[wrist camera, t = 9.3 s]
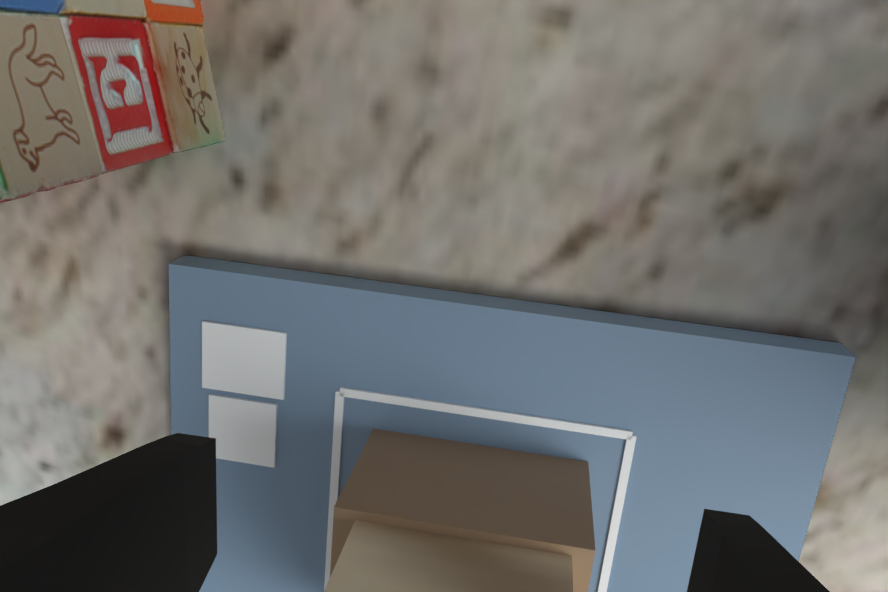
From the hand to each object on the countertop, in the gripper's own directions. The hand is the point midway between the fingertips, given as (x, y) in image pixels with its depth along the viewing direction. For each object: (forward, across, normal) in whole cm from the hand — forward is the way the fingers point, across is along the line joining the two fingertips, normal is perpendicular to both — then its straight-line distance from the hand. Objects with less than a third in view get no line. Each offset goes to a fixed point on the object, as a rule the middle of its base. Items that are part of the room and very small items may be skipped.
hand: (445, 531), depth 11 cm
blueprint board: (+10, 0, +7) cm, 12 cm away
